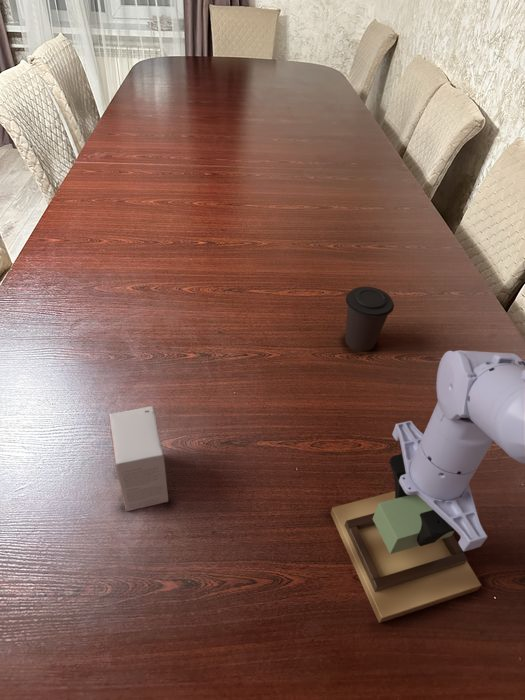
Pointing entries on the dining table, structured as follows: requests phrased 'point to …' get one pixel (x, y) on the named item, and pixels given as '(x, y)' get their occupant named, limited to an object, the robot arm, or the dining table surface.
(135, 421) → the small box
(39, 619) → the dining table surface
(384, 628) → the dining table surface
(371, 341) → the coffee cup
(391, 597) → the wooden base with frame
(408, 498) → the green rectangular block
